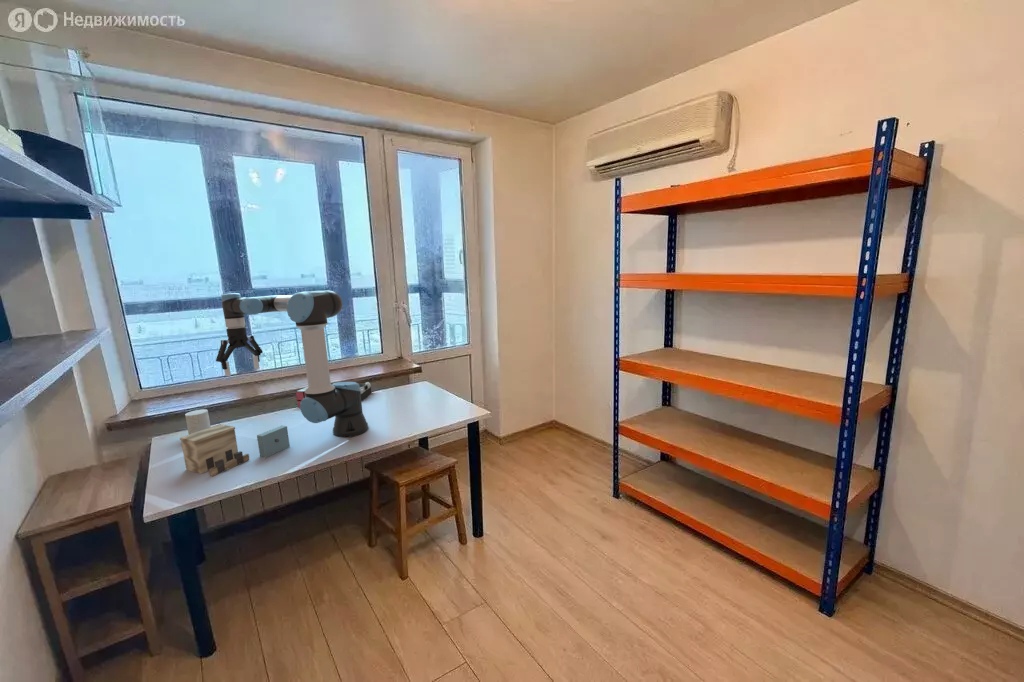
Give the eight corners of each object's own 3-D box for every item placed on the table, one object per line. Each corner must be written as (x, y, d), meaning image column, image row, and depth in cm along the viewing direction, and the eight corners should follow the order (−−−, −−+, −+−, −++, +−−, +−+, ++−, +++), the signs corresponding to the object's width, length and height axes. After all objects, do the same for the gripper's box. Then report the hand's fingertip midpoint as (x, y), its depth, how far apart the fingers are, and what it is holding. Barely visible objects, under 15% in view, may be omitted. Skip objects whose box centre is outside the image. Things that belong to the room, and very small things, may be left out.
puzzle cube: (314, 409, 219) (311, 391, 218) (297, 409, 222) (295, 391, 220) (325, 403, 229) (323, 386, 227) (310, 403, 231) (308, 386, 230)
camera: (359, 395, 242) (357, 379, 241) (374, 395, 242) (372, 378, 240) (348, 404, 227) (346, 386, 225) (363, 403, 226) (361, 386, 225)
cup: (185, 440, 184) (180, 414, 182) (204, 433, 192) (199, 408, 190) (197, 442, 181) (192, 416, 179) (216, 435, 189) (211, 410, 187)
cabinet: (250, 459, 161) (245, 428, 159) (211, 476, 148) (205, 443, 146) (224, 453, 167) (219, 424, 165) (185, 470, 154) (179, 437, 152)
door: (291, 446, 172) (288, 426, 171) (266, 458, 162) (263, 436, 161) (284, 445, 174) (281, 425, 172) (260, 456, 164) (256, 435, 162)
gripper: (256, 323, 200) (262, 365, 204) (201, 331, 178) (209, 378, 181) (267, 323, 197) (273, 366, 201) (212, 331, 175) (220, 379, 178)
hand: (243, 372), depth 191 cm, fingers open, 13 cm apart
